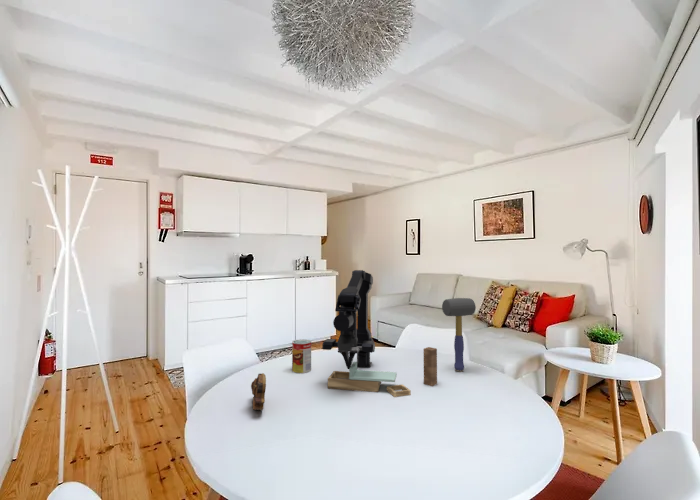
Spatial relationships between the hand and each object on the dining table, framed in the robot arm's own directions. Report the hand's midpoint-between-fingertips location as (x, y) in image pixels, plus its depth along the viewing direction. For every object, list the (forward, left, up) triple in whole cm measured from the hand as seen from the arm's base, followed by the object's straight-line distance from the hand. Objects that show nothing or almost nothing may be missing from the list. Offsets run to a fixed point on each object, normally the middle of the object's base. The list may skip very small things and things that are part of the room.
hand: (348, 368), depth 131 cm
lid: (0, +9, -2) cm, 9 cm away
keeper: (+4, +18, -6) cm, 20 cm away
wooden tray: (0, +2, -6) cm, 6 cm away
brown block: (-7, +29, -6) cm, 31 cm away
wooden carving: (+25, -24, -6) cm, 35 cm away
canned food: (-13, -23, -6) cm, 27 cm away
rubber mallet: (-25, +41, -6) cm, 49 cm away
